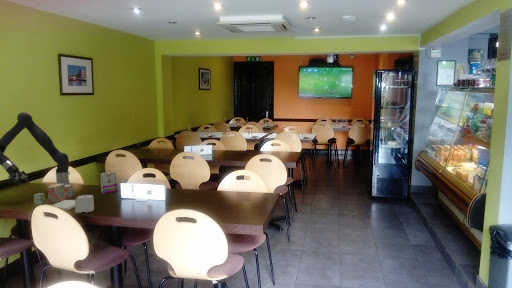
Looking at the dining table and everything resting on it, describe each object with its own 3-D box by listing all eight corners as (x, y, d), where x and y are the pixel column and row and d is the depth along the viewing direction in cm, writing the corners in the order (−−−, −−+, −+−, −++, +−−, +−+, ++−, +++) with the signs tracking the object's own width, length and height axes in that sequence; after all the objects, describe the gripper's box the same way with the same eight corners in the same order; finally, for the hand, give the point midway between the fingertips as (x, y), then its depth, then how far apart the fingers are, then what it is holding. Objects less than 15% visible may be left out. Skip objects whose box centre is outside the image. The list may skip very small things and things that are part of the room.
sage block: (39, 203, 315) (38, 193, 314) (45, 203, 314) (44, 193, 313) (34, 205, 310) (33, 194, 309) (40, 205, 309) (39, 195, 308)
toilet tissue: (96, 208, 300) (95, 194, 298) (90, 213, 288) (89, 199, 287) (81, 208, 299) (80, 195, 298) (74, 213, 287) (73, 199, 286)
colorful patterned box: (66, 195, 338) (65, 180, 336) (73, 196, 336) (72, 181, 335) (48, 202, 317) (47, 186, 315) (55, 203, 316) (54, 187, 314)
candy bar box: (114, 190, 353) (113, 171, 351) (116, 191, 349) (115, 172, 347) (101, 192, 346) (99, 173, 344) (103, 193, 342) (101, 174, 340)
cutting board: (65, 201, 319) (65, 199, 319) (84, 202, 316) (84, 200, 316) (47, 209, 299) (47, 206, 299) (67, 210, 296) (67, 207, 296)
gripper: (5, 165, 305) (20, 181, 304) (20, 162, 319) (34, 178, 318) (0, 172, 306) (15, 188, 306) (14, 169, 320) (29, 184, 319)
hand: (25, 183), depth 312 cm, fingers open, 8 cm apart
